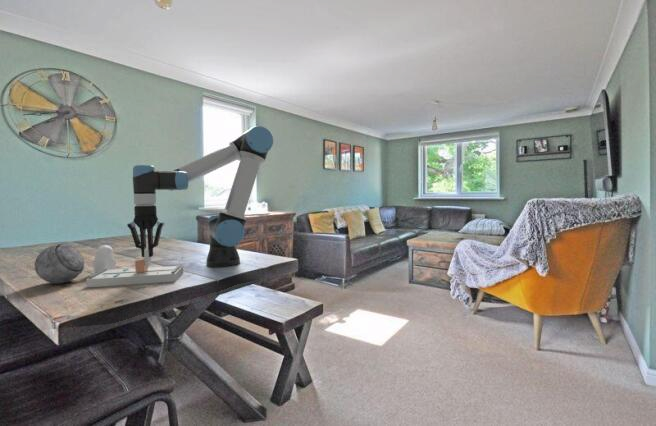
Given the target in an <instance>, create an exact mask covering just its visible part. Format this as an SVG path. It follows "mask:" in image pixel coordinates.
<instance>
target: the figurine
mask: <svg viewBox="0 0 656 426" xmlns="http://www.w3.org/2000/svg"><path fill="white" fill-rule="evenodd" d="M116 265H117V260H116V258H114V249H113V247H111V246H110V245H106V244H105V245H101V246H99V247H98V248H97V249H96V251H95V253H94V259H93V271H94V272H93V274H95V273H97V272H99V271H101V270H103V269H107V270H115V267H116Z"/></svg>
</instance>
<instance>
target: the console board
mask: <svg viewBox="0 0 656 426" xmlns="http://www.w3.org/2000/svg"><path fill="white" fill-rule="evenodd" d="M183 274H184V265H182V264H177V265H173V266H157V267H156V266H155V267H148V270H147V271H145V272H140V273H136V269H135V268H120V269H118V268H117V269H113V270H107V269H103V270H101V271H99V272H97V273H93V274H91V275H90V276H88V277H87V278H86V280H85V281H86V288H97V287H99V288H101V287H113V286H126V285H140V284H141V285H143V284H157V283H173V282H177V281H178V280H179V278H180V277H181V276H182V275H183Z"/></svg>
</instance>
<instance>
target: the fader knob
mask: <svg viewBox="0 0 656 426" xmlns="http://www.w3.org/2000/svg"><path fill="white" fill-rule="evenodd" d="M134 267H135V268H134V269H136V273H140V272H145V271H147V270H148V268H149V266H145V259H144V257H139V258H137V259H135V261H134Z"/></svg>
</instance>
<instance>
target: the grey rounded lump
mask: <svg viewBox="0 0 656 426" xmlns="http://www.w3.org/2000/svg"><path fill="white" fill-rule="evenodd" d="M84 269H85V259H84V256H83V255H82V253H81V252H80V251H79V250H78V249H76V248H75V247H74V246H71V245H69V244H66V243H56V244H54V245H50V246H47V247H46V248H44V249H43V250H42V251H41V252H39V254H38V255H37V256H36V259H35V261H34V270H35V273H36V275H37V276H38V278H40V279H41V280H43V281H45V282H48V283H50V284H65V283H68V282H70V281H73V280H74V279H75V278H77V277H79V275H81V273H82V272H83V271H84Z"/></svg>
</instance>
